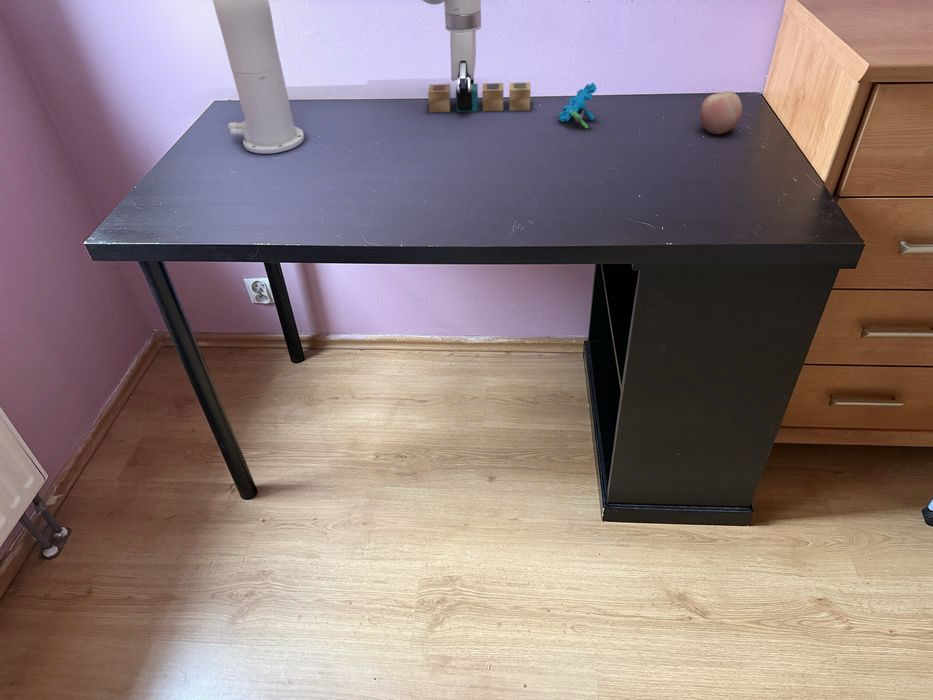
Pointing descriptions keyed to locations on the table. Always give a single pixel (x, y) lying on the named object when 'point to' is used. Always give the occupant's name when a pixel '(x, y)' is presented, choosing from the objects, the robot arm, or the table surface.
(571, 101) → the blue flower
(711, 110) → the apple
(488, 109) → the beech block
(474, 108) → the teal block
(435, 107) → the beech block
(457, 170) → the table surface
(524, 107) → the beech block
